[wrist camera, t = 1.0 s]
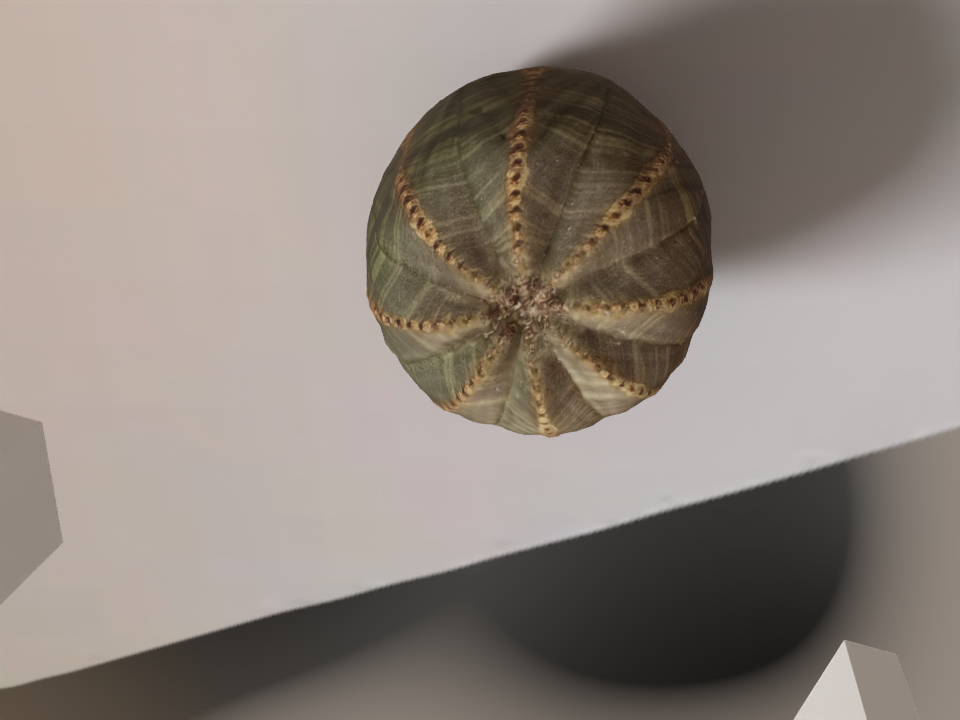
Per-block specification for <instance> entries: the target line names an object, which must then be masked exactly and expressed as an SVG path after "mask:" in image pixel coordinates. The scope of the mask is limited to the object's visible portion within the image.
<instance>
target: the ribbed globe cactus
mask: <svg viewBox="0 0 960 720" xmlns="http://www.w3.org/2000/svg"><path fill="white" fill-rule="evenodd" d="M366 239H367V247H366V258H367V293H366V295H367V298H368V300H369V306H370V309H371V310H372V312H373V313H374V315H375V317H376V319H377V321H378V323H379V324H380V326H381V329H382V332H383V336H384V340H385V343H386V344H387V346H388V347H389V348H390V350H391V351H392V352H393V353H394V354H395V355H396V356H397V358H398V359H399V361H400V363H401V365H402V367H403V368H404V370H405V371H406V372H407V373H408V374H409V375H410V377H411V378H412V379H413V380H414V382H415V383H416V384H417V385H418V386H419V388H420V389H422V390H423V391H424V392H425V393H426V394H427V395H428V396H429V397H430V399H431V400H432V401H433V402H434V403H435V404H436V405H437V406H439V407H441V408H442V409H443V410H444V411H448V412H452V413H455V414H459V415H461V416H462V417H464V418H466V419H468V420H470V421H473V422H477V423H483V424H493V425H496V426H500V427H503V428H505V429H507V430H510V431H513V432H516V433H520V434H524V435H544V436H547V437H557V436H559V435H561V434H564V433H568V432H574V431H578V430H581V429H584V428H587V427H590V426H592V425H594V424H595V423H597V422H598V421H600V420H602V419H603V418H605V417H608V416H611V415H615V414H620V413H623V412H626V411H628V410H629V409H631V408H632V407H634V406H636V405H637V404H639V403H640V402H642V401H643V400H645V399H647V398H649V397H651V396H653V395H655V394H656V393H657V392H658V391H659V390H660V389H661V388H662V386H663V385H664V383H665V382H666V381H667V379H668V378H669V376H670V374H671V373H672V372H673V371H674V370H675V369H676V368H677V367H678V366H679V365H680V364H681V363H682V362H683V360H684V358H685V357H686V354H687V351H688V348H689V345H690V341H691V338H692V336H693V333H694V332H695V330H696V329H697V328H698V326H699V324H700V322H701V319H702V317H703V314H704V311H705V309H706V305H707V301H708V296H709V290H710V287H711V285H712V280H713V266H712V258H711V212H710V208H709V204H708V199H707V196H706V193H705V190H704V187H703V185H702V182H701V179H700V176H699V174H698V172H697V171H696V169H695V167H694V165H693V164H692V162H691V160H690V159H689V157H688V156H687V154H686V153H685V151H684V150H683V149H682V148H681V146H680V145H679V144H678V142H677V141H676V139H675V138H674V136H673V135H672V134H671V132H670V131H669V129H668V128H667V127H666V126H665V125H664V124H663V123H662V122H661V121H660V120H659V119H658V118H656V117H655V116H654V115H653V114H652V113H651V112H649V111H648V110H647V109H646V108H645V107H644V106H643V105H641V104H640V103H639V102H638V101H637V100H636V99H635V98H634V97H633V96H632V95H630V94H629V93H628V92H627V91H625V90H624V89H623V88H621V87H620V86H618V85H616V84H615V83H613V82H612V81H610V80H608V79H606V78H604V77H601V76H599V75H596V74H593V73H589V72H585V71H579V70H569V69H561V68H554V67H543V66H542V67H532V68H525V69H520V70H515V71H508V72H501V73H495V74H492V75H488V76H485V77H482V78H480V79H477V80H475V81H473V82H470V83H468V84H466V85H465V86H463V87H461V88H459V89H458V90H456V91H455V92H453V93H451V94H450V95H448V96H447V97H446V98H444V99H443V100H440V101H439V102H438V103H437V104H436V105H435V106H434V107H433V108H432V109H430V110H429V111H428V112H427V113H426V114H425V115H424V116H423V117H422V118H421V120H420V121H419V122H418V123H417V124H416V125H415V126H414V128H413V129H412V130H411V131H410V132H409V133H408V134H407V136H406V137H405V139H404V141H403V142H402V144H401V145H400V147H399V148H398V150H397V152H396V154H395V156H394V158H393V159H392V161H391V163H390V164H389V166H388V167H387V169H386V171H385V172H384V174H383V177H382V180H381V182H380V185H379V187H378V189H377V192H376V194H375V197H374V200H373V205H372V208H371V211H370V215H369V220H368V225H367V238H366Z"/></svg>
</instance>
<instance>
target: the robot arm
mask: <svg viewBox="0 0 960 720" xmlns="http://www.w3.org/2000/svg"><path fill="white" fill-rule="evenodd" d="M62 543H63V540H62V534H61V529H60V523H59V517H58V511H57V506H56V500H55V494H54V488H53V483H52V477H51V471H50V465H49V460H48V454H47V448H46V443H45V437H44V431H43V425H42V422H40V421H36V420H32V419H28V418H25V417H21V416H17V415H14V414H10V413H6V412H3V411H0V605H1V604H2V603H3V602H4V601H5V600H6V599H7V598H8V597H9V596H10V595H11V594H12V593H13V592H14V591H15V590H16V589H17V588H18V587H19V586H20V585H21V584H22V583H23V582H24V581H25V580H26V579H27V578H28V577H29V576H30V575H31V574H32V573H33V572H34V571H35V570H36V569H37V568H38V567H39V566H40V565H41V564H42V563H43V562H44V561H45V560H46V559H47V558H48V557H49V556H50V555H51V554H52V553H53V552H54V551H55V550H56V549H57V548H58V547H59V546H60V545H61V544H62ZM794 720H920V719H919V716H918V714H917V711H916V708H915V705H914V702H913V700H912V697H911V694H910V691H909V688H908V685H907V682H906V680H905V677H904V674H903V671H902V668H901V665H900V663H899V660H898V657H897V654H894V653H891V652H887V651H883V650H879V649H876V648H872V647H869V646H865V645H861V644H858V643H853V642H850V641H847V640H844V641H843V643H842V644H841V646H840V647H839V649H838V650H837V652H836V654H835V655H834V657H833V659H832V660H831V662H830V663H829V665H828V666H827V668H826V670H825V671H824V673H823V674H822V676H821V677H820V679H819V681H818V682H817V684H816V685H815V687H814V688H813V690H812V692H811V693H810V695H809V696H808V698H807V699H806V701H805V703H804V704H803V706H802V707H801V709H800V711H799V712H798V714H797V716H796V717H795V718H794Z"/></svg>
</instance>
